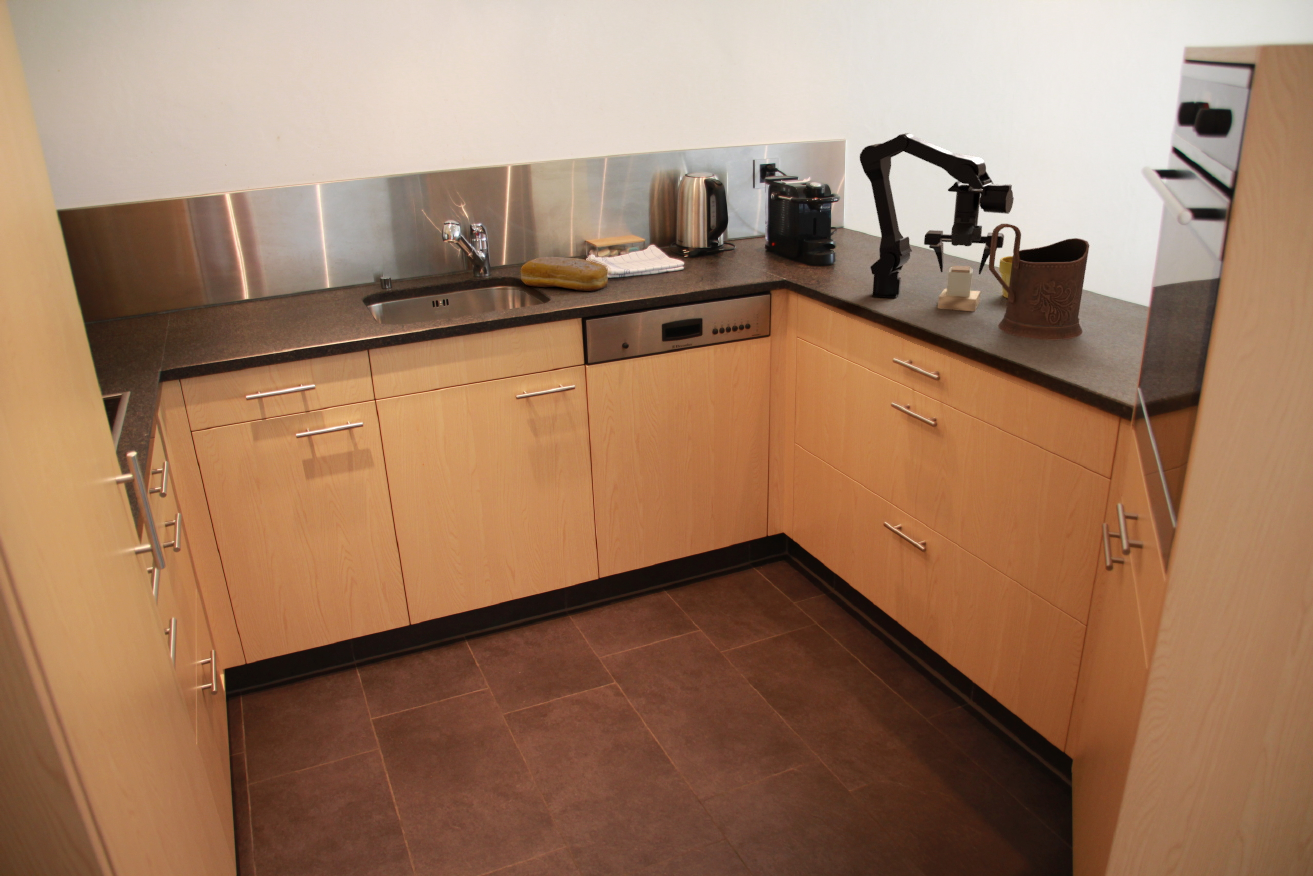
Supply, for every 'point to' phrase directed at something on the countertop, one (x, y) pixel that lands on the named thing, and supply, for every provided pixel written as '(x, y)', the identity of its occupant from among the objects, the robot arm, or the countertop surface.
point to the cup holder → (1043, 288)
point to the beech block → (959, 301)
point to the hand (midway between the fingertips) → (960, 273)
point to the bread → (564, 273)
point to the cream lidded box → (959, 281)
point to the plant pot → (1005, 271)
